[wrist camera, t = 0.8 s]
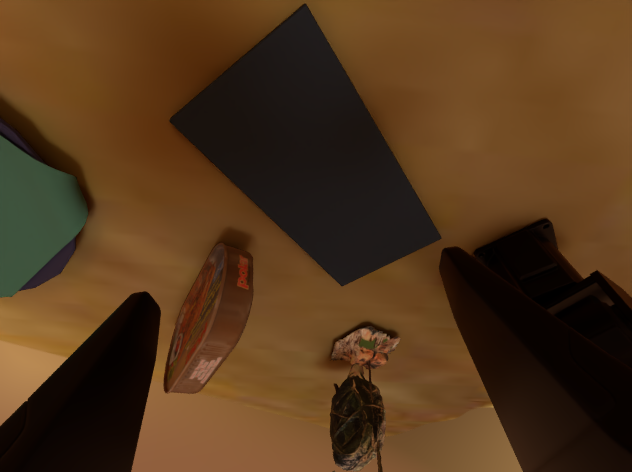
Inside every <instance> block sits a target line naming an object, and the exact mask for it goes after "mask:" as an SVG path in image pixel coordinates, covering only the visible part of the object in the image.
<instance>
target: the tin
mask: <svg viewBox="0 0 632 472" xmlns="http://www.w3.org/2000/svg"><path fill="white" fill-rule="evenodd" d="M252 300H253V257H252V255H251V254H250V253H248V252H246V251H243V250H240V249H236V248H233V247H230V246H226V245H225V244H223V243H219V244H217V245H216V246H215V247H214V249H213V250H212V252H211V253H210V255H209V257H208V259H207V261H206V263H205V264H204V266H203V268H202V270H201V272H200V274H199V276H198V278H197V280H196V282H195V283H194V285H193V287H192V289H191V291H190V293H189V295H188V297H187V298H186V300H185V302H184V304H183V307H182V309H181V312H180V314H179V317H178V320H177V323H176V326H175V329H174V333H173V336H172V340H171V344H170V349H169V353H168V357H167V362H166V367H165V374H164V391H165V393H170V392H174V393H188V394H189V393H192V394H193V393H197V392H199V391H201V390H202V389H203V387H204V386H205V385H206V384H207V382H208V381H209V380H210V378H211V377H212V376H213V375H214V373H215V372H216V371H217V370H218V368H219V367H220V366H221V364H222V363H223V362H224V360H225V359H226V358H227V357H228V355H229V354H230V352H231V351H232V350H233V349H234V347H235V346H236V344H237V343H238V341H239V339H240V337H241V335H242V333H243V330H244V328H245V326H246V323H247V320H248V317H249V313H250V309H251V305H252Z"/></svg>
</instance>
